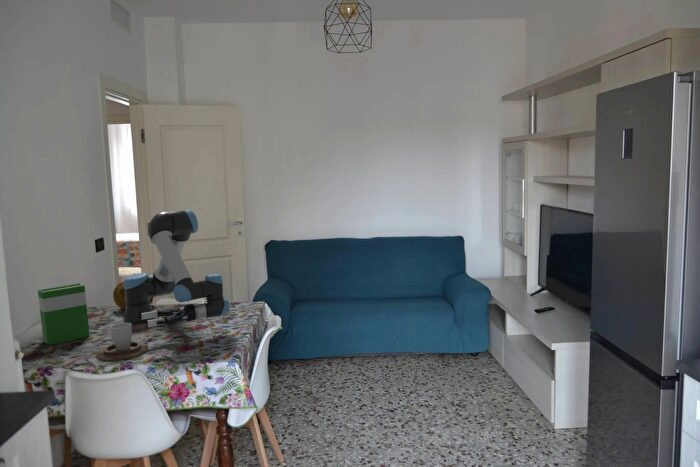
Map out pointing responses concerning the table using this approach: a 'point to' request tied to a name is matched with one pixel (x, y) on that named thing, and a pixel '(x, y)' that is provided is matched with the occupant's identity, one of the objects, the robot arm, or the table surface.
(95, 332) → the table surface
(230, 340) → the table surface
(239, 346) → the table surface
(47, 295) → the hardback book
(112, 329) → the cup
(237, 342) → the table surface
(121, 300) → the decorative pumpkin
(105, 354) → the round tray
